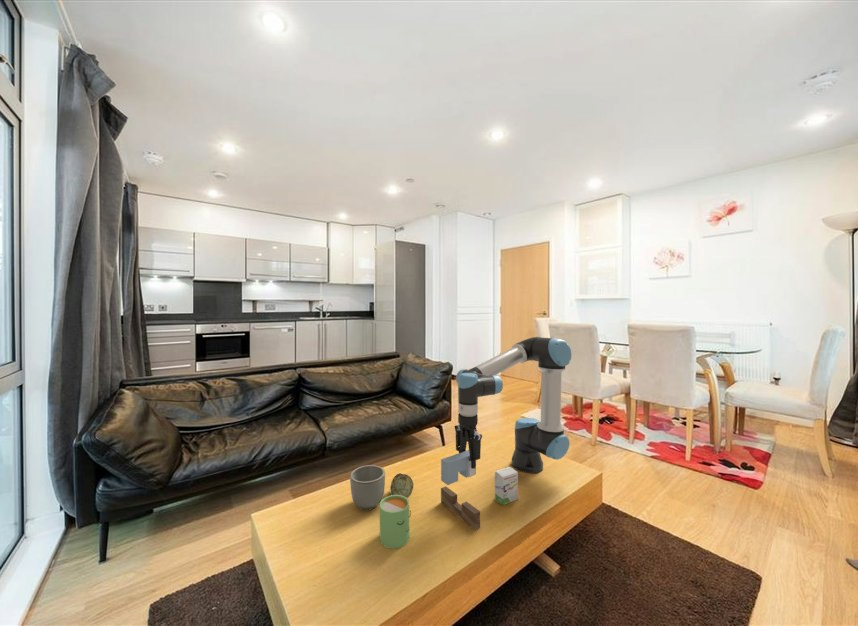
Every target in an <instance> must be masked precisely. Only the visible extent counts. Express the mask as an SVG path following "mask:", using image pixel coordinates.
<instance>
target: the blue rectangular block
mask: <svg viewBox="0 0 858 626" xmlns="http://www.w3.org/2000/svg"><path fill="white" fill-rule="evenodd" d="M469 459H470V454H469V449H468V450H466V451H464V452H461V453H459V452H458V453H456V454H453V455H449V456H447V457H444V458H442V459H440V481H441V482H442V483H444V484H445V485H446V486H450V485H452V484H455V483H457V482H459V475H461V476H463V477H464V478H466V479H467V478H470V477H469ZM476 471H477V467H476V468H475V475H476V474H477V472H476Z"/></svg>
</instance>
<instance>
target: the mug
mask: <svg viewBox="0 0 858 626" xmlns="http://www.w3.org/2000/svg"><path fill="white" fill-rule="evenodd" d="M411 511H412V510H410V500H409V499H408V498H406V497H404V496H401V495H392V494H391V495H388V496H386V497H383V498H382V500H381V502H380V503H379V541H380V543H381V545H382V546H383V547H385V548H388V549H400V548H401V547H403V546H405V545H406V544H407V543H408V542H409V540H410V517H411V516H412V515H411V513H412V512H411Z"/></svg>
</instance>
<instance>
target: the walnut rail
mask: <svg viewBox="0 0 858 626" xmlns="http://www.w3.org/2000/svg"><path fill="white" fill-rule="evenodd" d="M440 504H442V505H443V506H444V507H446V508H447V509H448V510H449V511H451V512H452V513H453V514H454V515H456V516H457V517H458V518H459V519H460V520H462V521H463V522H464V523H466V525H468V526H469V527H470V528H472V529H473V530H474V531H477V530H478V529H480V528H481V511H480V510H479V509H478V508H476V507H475V506H474V505H472V504H471V503H469V502H468V501H464V502H462V503H459V502H458V493H456V492H454V491H453V490H452V489H450V488H449V487H448V486H447V485H446V486H443V487H440Z"/></svg>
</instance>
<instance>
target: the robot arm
mask: <svg viewBox="0 0 858 626" xmlns="http://www.w3.org/2000/svg"><path fill="white" fill-rule="evenodd" d="M571 360H572V349H571V347H570V345H569V344H568V343H567V342H566V340H563V339H559V338H554V337H553V338H552V337H542V336H533V337H529V338H526V339H524V340H521V341H518V342H517V343H514V344H513V345H512V346H511V348H509V349H507V350H506V351H504V352H502V353H500V354H498V355H495V356H493V357H492V358H490V359H487V360H486V361H484V362H481V363H479V364H477V365H476V366H474V367H472V368H469V369H466V368H465V369H460V370H459V371H458V372H457V373H456V377H455V379H456V383H457V393H458V394H457V397H458V398H457V399H458V400H457V401H458V402H457V403H458V407H457V409H458V410H457V411H458V414H457V415H458V417H457V422H458V424H457V425H454V430H455V431H454V432H455V451H457V452H458V453H461V452H464V451H467V450H466V449H467V444H468V450H469V454H470V459H469V477H468V478H471V477H474V476H476V474H475V468H476V469H477V461H478V460H480V459H481V443H482V439H483V434H482V433H478V431H477V425H478V423H479V422H478V420H479V419H478V416H479V415H478V413H479V408H478V404H479V402H478V401H479V398H482V397H488V396H495V395H498V394H500V393H502V392H503V388H504V384H503V380H502V378H501V377H500V376H499V374H500V373H503V372H504V371H506V370H508V369H510V368H512V367H514V366H516V365H518V364H519V363H520V364H525V363H526V362H528V361H530V362H531V361H533V362H537V363H538V364H537V367H538V368H539V369H540V370H541V371H540V372H541V381H540V382H541V383H540V384H541V386H540V387H541V388H540V420H539V419H537V418H534V417H524V418H523V417H522V418H518V419H517V420H515V424H514V451H513V453H512V457H511V467H512V468H513V469H514V470H516V471H519V472H523V473H527V474H536V473H540V472H542V471H543V470H544V461H543V460H542V455H543V456H546V457H547V458H550V459H553V460H556V461H557V460H560V459H562V458H563V457H564V456H565V455H566V454H567V453H568V451H569V448H570V438H569V437H568V436H567V435H565V427H564V426H563V425H562V424H561V418H562V417H561V410H562V409H561V408H562V372H564V371H565V370H566V366H568V365H569V364H570V362H571Z"/></svg>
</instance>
